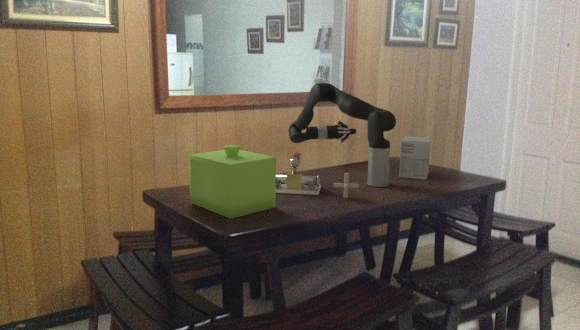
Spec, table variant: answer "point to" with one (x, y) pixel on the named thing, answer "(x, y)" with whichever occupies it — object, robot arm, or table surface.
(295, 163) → the valve lever
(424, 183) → the table surface
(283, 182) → the valve fixture
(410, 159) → the supplement box
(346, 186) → the pipe connector
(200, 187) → the canister
